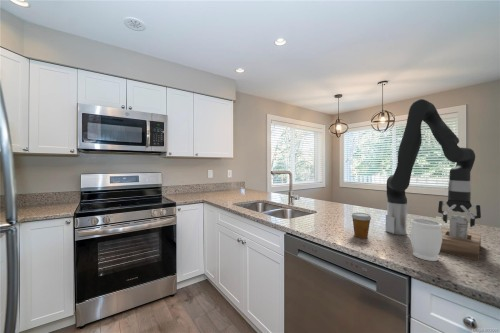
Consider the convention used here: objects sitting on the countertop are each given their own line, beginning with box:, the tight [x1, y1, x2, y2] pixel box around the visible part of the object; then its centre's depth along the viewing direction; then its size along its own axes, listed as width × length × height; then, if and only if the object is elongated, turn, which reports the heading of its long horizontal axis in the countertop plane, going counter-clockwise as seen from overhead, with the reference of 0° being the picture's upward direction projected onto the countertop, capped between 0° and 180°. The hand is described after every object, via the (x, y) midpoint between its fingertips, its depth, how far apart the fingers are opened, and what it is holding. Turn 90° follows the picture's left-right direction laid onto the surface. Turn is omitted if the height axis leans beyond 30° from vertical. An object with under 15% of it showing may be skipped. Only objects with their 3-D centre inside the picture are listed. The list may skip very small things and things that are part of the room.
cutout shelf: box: [439, 226, 482, 261], centre depth 100 cm, size 24×14×6 cm, turn 131°
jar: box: [409, 218, 443, 262], centre depth 90 cm, size 11×10×15 cm
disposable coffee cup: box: [351, 212, 372, 239], centre depth 115 cm, size 10×10×12 cm
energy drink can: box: [449, 214, 469, 239], centre depth 100 cm, size 6×6×15 cm
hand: (458, 224), depth 100 cm, fingers open, 8 cm apart
